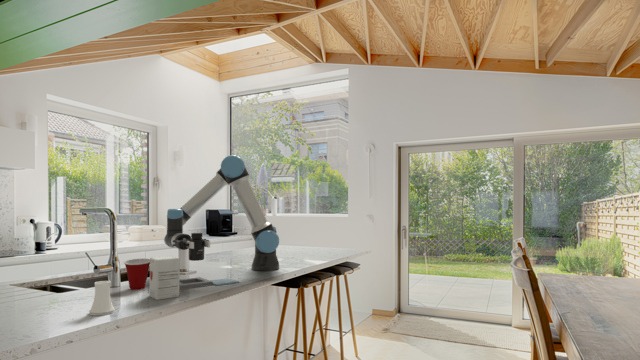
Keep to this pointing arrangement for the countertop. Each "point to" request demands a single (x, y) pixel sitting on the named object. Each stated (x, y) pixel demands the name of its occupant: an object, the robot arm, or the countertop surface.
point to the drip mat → (223, 281)
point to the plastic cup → (137, 272)
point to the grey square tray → (199, 283)
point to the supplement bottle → (197, 247)
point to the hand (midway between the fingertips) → (201, 244)
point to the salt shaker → (102, 299)
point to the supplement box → (164, 277)
